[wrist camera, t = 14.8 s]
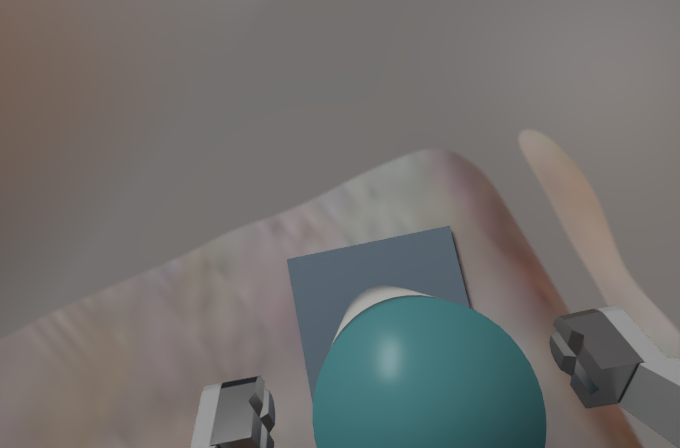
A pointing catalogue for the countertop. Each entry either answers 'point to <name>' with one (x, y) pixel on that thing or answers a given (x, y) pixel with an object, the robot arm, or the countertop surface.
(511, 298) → the countertop surface
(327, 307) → the rubber mat
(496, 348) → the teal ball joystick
